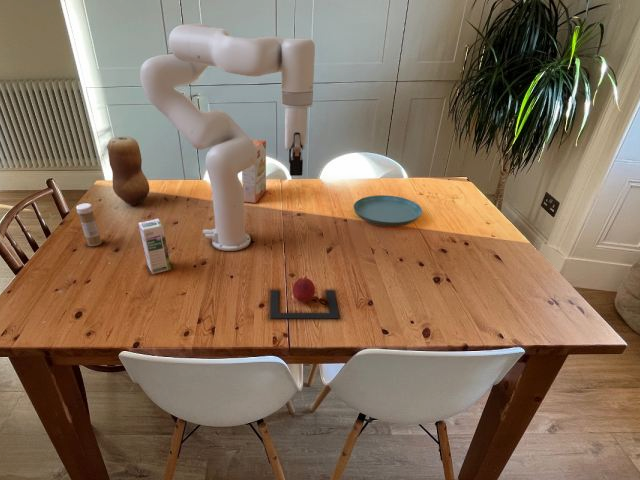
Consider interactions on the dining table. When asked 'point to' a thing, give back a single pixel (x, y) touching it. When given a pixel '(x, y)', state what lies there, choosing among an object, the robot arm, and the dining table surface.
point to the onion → (303, 289)
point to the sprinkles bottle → (89, 224)
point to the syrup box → (155, 245)
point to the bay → (331, 315)
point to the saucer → (387, 210)
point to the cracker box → (255, 175)
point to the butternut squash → (127, 170)
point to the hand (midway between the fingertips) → (295, 168)
